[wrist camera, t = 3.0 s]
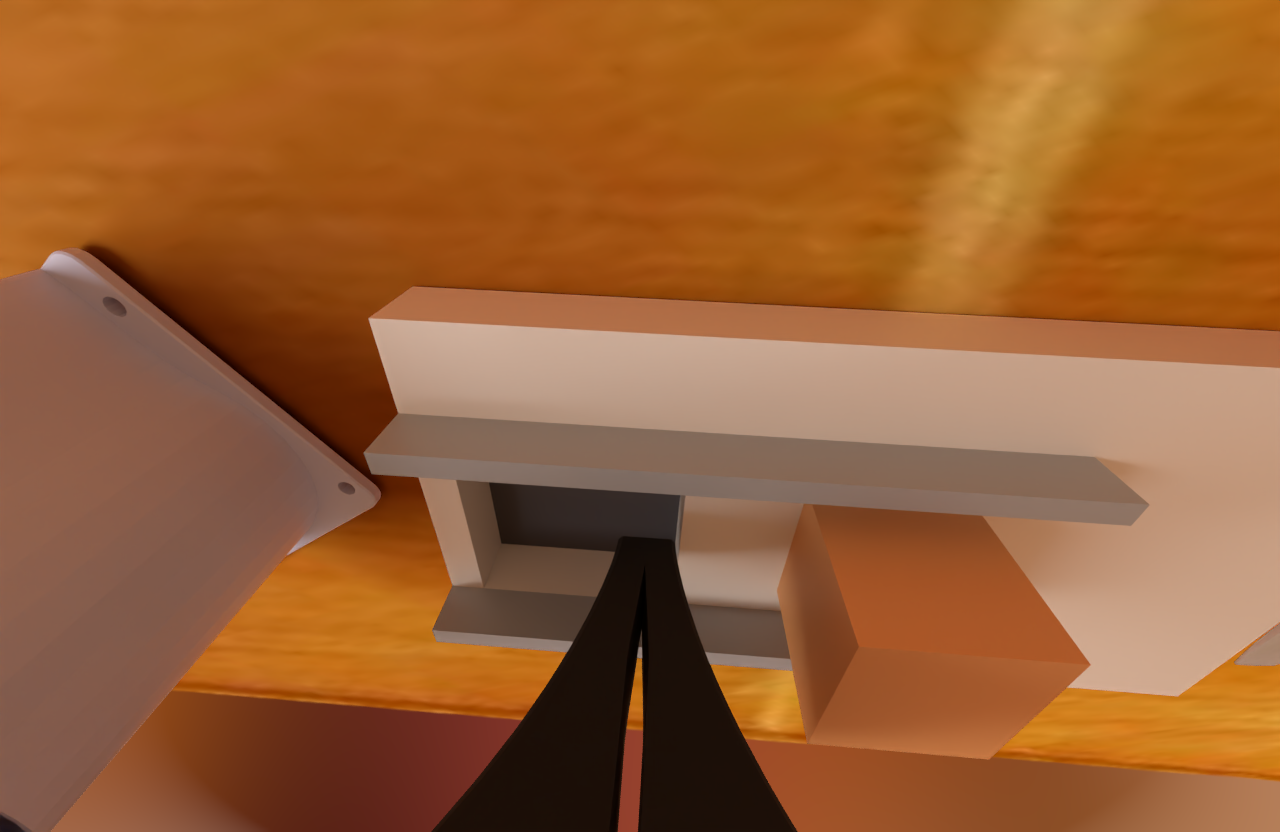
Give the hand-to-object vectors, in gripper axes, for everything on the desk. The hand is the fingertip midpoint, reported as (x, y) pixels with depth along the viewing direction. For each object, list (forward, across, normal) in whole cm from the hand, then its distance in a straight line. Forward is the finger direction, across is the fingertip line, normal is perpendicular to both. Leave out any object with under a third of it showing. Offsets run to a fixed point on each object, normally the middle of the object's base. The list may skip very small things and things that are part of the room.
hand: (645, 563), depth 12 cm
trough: (+3, -6, 0) cm, 7 cm away
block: (+1, -6, 0) cm, 6 cm away
